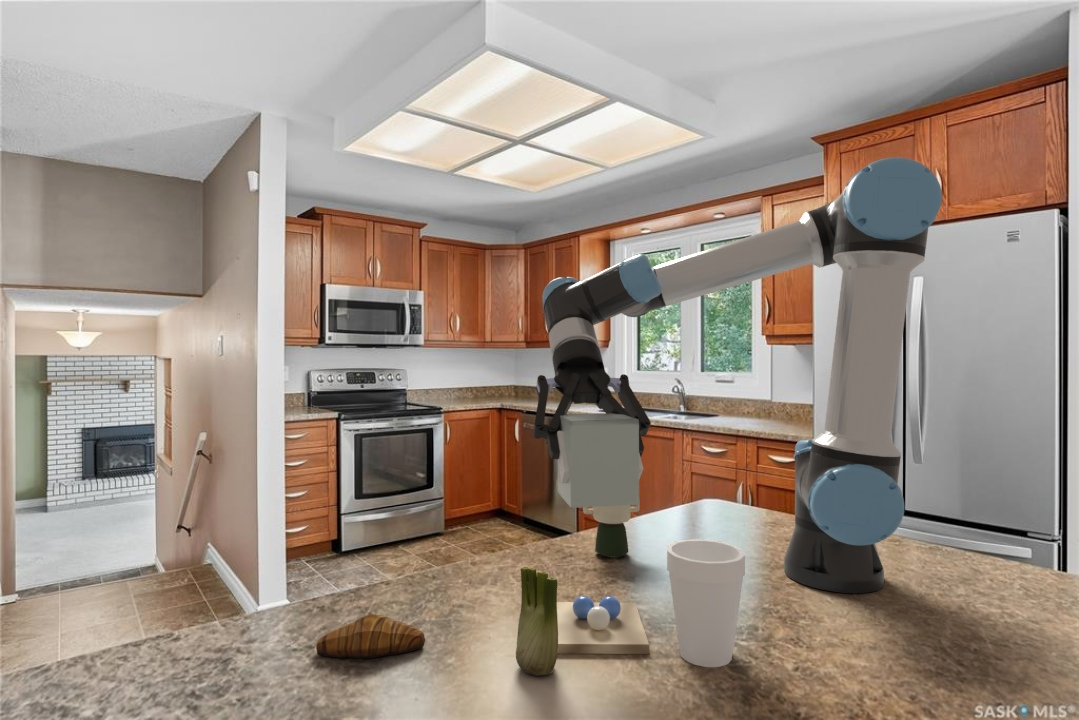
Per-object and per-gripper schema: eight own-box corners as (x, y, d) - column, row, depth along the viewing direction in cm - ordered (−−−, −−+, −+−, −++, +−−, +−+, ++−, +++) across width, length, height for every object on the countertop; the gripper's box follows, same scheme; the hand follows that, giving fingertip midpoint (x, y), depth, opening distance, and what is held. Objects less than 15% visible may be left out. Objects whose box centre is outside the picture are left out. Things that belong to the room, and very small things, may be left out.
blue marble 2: (619, 613, 85) (619, 592, 85) (621, 623, 82) (621, 601, 82) (598, 613, 86) (597, 592, 85) (599, 623, 82) (599, 601, 82)
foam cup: (749, 677, 71) (749, 565, 71) (667, 670, 73) (667, 560, 72) (739, 640, 80) (739, 541, 80) (667, 634, 82) (666, 537, 82)
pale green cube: (619, 489, 88) (619, 413, 87) (639, 504, 79) (638, 419, 79) (557, 492, 86) (557, 414, 86) (570, 507, 77) (570, 421, 77)
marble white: (608, 624, 82) (608, 602, 82) (611, 634, 79) (610, 611, 79) (586, 624, 82) (586, 602, 82) (587, 634, 79) (587, 611, 79)
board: (635, 610, 89) (635, 602, 89) (649, 654, 76) (649, 644, 76) (525, 610, 90) (525, 602, 90) (521, 653, 77) (521, 643, 77)
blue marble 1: (593, 613, 86) (593, 592, 85) (595, 623, 83) (595, 601, 82) (572, 613, 86) (572, 592, 86) (573, 623, 83) (572, 600, 83)
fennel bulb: (563, 679, 71) (563, 575, 71) (522, 686, 69) (522, 580, 69) (548, 655, 76) (548, 559, 76) (510, 661, 75) (510, 563, 75)
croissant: (309, 670, 73) (308, 628, 73) (322, 644, 80) (322, 606, 80) (423, 662, 75) (423, 622, 75) (426, 637, 82) (426, 600, 82)
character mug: (633, 547, 119) (633, 481, 119) (645, 559, 112) (645, 488, 112) (579, 550, 117) (578, 483, 117) (587, 563, 110) (587, 491, 110)
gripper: (637, 370, 99) (674, 488, 84) (504, 371, 96) (517, 495, 80) (648, 336, 94) (690, 456, 78) (507, 336, 91) (521, 461, 75)
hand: (602, 476), depth 79 cm, fingers closed on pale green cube, 9 cm apart
